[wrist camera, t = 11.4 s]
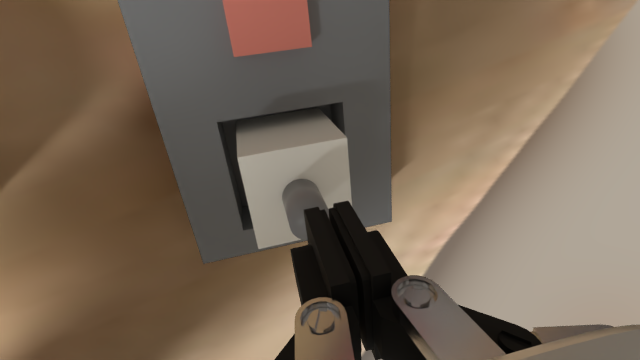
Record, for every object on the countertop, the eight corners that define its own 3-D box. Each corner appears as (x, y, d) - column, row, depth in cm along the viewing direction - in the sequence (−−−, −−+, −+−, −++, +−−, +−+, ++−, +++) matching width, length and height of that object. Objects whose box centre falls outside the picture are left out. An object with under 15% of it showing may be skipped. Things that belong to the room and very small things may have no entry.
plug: (325, 180, 23) (370, 255, 16) (252, 194, 22) (262, 281, 15) (318, 107, 21) (364, 156, 14) (235, 121, 20) (238, 180, 13)
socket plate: (372, 196, 25) (396, 228, 22) (207, 231, 24) (202, 272, 20) (362, -64, 18) (395, -85, 14) (123, -44, 16) (91, -62, 13)
